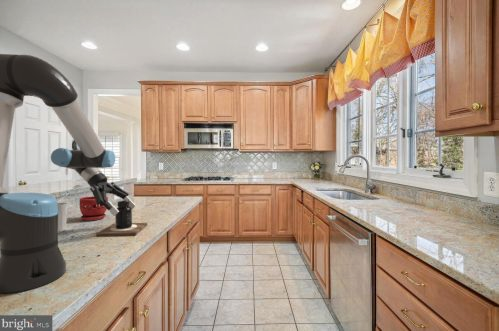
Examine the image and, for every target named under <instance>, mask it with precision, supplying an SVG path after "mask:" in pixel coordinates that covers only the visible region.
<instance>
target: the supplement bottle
mask: <svg viewBox="0 0 499 331" xmlns="http://www.w3.org/2000/svg"><path fill="white" fill-rule="evenodd" d="M115 208H116V209H117V210H118V211H119V212H118V213H117V214H116V215H115V216H114V219H115V223H116V228H117V229H126V228H130V227H131V226H132V223H133V209H132V208H131V207H130V206H129V201H123V200H120V201H117V207H115Z"/></svg>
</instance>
